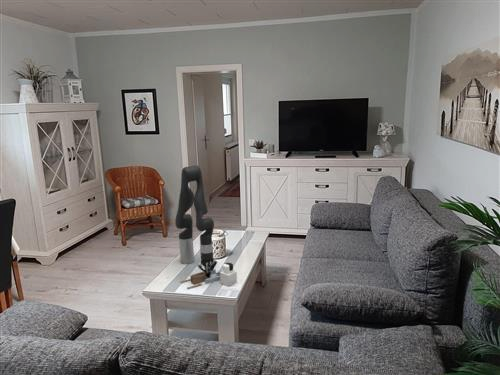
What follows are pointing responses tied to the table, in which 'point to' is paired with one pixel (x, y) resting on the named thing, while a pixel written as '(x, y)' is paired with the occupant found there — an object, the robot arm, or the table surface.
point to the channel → (212, 278)
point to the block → (198, 278)
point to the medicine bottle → (228, 275)
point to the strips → (191, 286)
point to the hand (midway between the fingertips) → (208, 277)
